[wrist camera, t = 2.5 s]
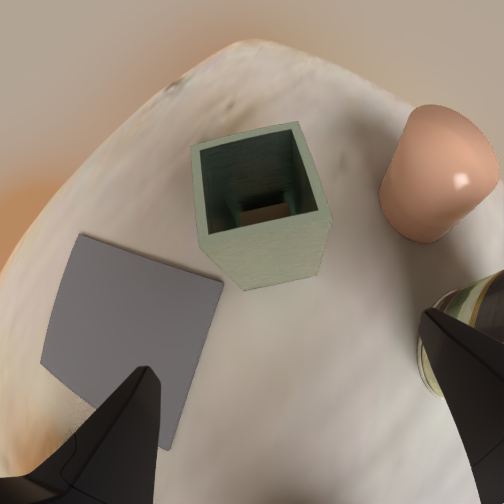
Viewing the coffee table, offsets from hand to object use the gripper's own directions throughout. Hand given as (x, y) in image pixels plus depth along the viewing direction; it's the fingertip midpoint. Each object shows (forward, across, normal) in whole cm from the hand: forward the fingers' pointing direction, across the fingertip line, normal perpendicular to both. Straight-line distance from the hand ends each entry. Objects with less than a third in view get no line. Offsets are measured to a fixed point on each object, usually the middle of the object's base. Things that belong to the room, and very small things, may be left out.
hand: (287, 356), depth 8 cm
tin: (+15, 0, +4) cm, 16 cm away
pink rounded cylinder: (+16, -14, +3) cm, 22 cm away
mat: (+12, +16, +7) cm, 21 cm away
